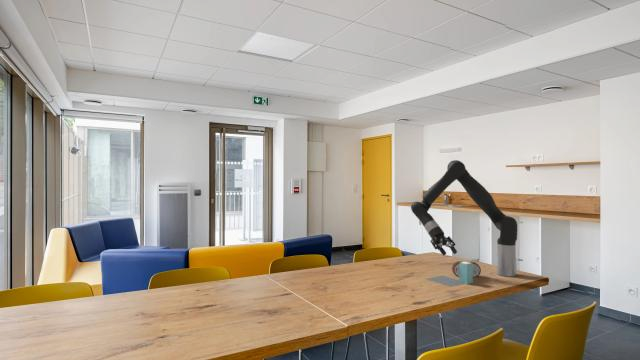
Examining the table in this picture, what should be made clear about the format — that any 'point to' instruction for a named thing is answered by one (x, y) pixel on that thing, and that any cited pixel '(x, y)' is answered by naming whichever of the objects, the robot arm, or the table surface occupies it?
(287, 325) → the table surface
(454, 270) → the tin
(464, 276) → the block
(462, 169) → the robot arm
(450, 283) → the mat
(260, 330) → the table surface
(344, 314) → the table surface
